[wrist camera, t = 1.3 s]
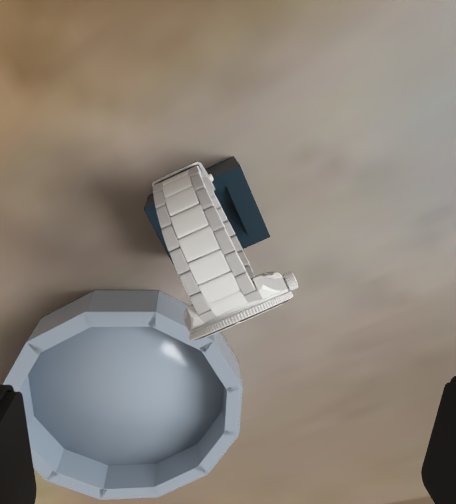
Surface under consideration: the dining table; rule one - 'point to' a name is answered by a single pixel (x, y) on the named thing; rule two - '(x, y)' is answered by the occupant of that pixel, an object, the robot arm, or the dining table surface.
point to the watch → (215, 245)
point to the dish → (126, 396)
